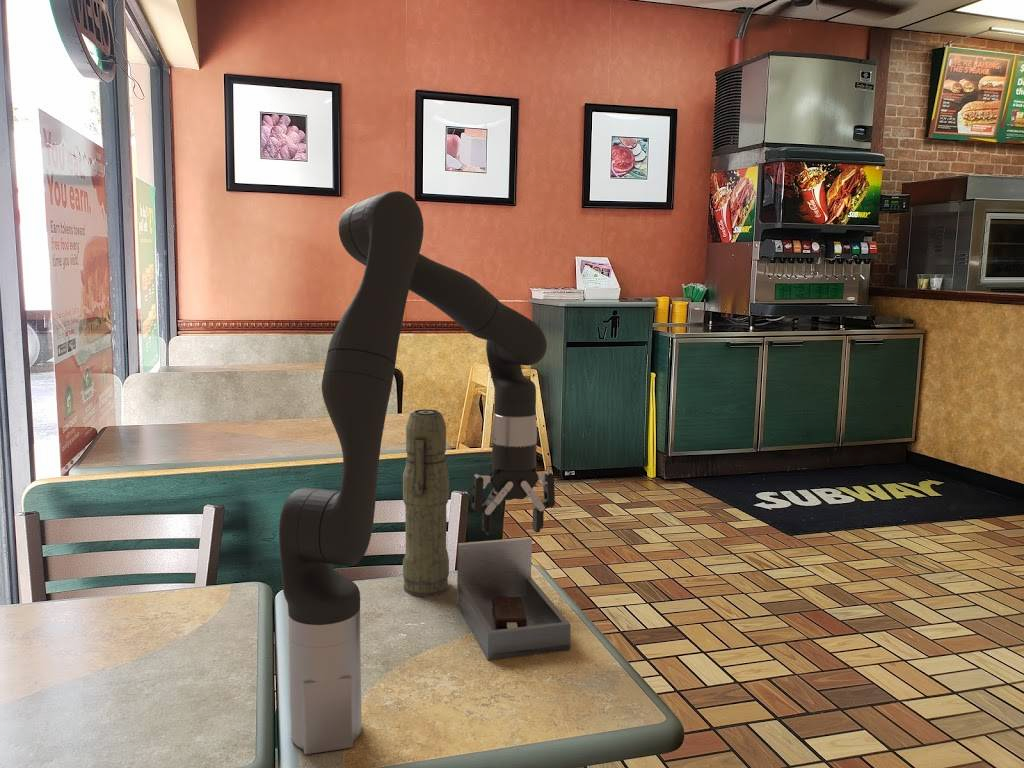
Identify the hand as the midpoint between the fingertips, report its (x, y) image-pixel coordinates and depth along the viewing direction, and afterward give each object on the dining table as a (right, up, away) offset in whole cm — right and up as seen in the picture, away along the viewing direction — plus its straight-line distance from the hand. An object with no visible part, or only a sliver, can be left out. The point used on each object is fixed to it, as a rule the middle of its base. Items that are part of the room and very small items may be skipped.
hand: (512, 532), depth 138 cm
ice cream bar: (0, -16, +2) cm, 16 cm away
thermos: (-17, -15, +19) cm, 30 cm away
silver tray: (0, -17, +3) cm, 17 cm away
